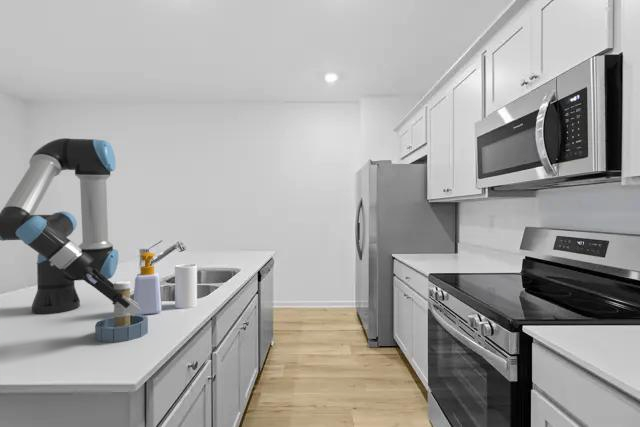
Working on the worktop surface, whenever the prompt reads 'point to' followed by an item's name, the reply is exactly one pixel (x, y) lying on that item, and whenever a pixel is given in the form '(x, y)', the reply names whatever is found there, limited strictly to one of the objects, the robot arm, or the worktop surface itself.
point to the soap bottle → (147, 288)
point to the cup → (185, 286)
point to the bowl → (121, 329)
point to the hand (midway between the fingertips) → (136, 310)
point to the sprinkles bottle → (119, 313)
